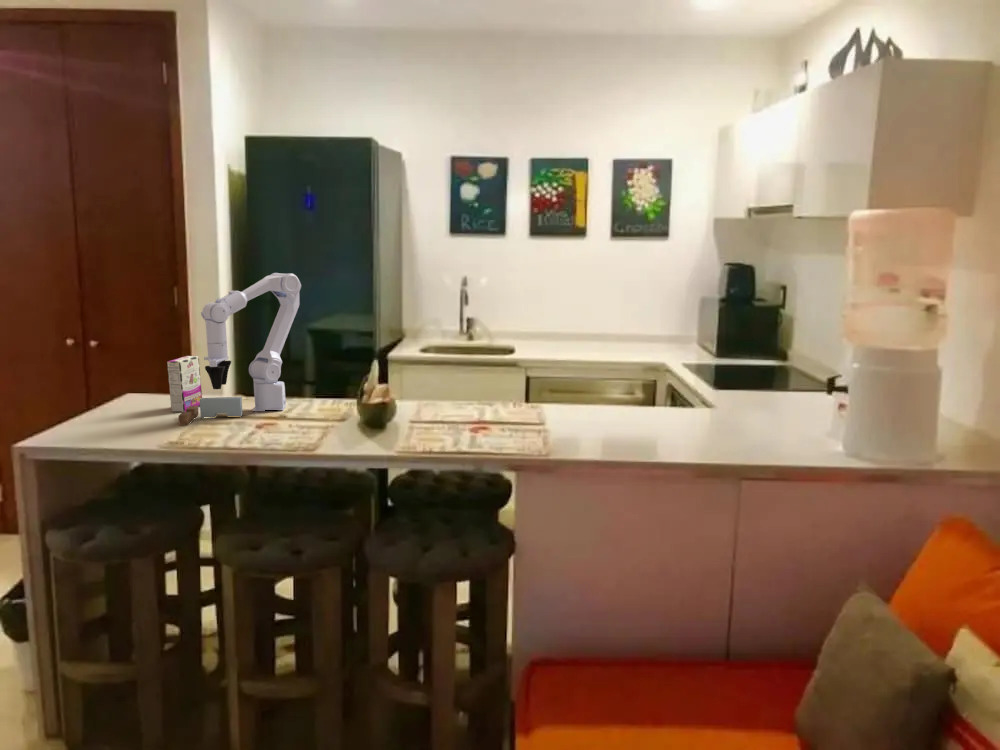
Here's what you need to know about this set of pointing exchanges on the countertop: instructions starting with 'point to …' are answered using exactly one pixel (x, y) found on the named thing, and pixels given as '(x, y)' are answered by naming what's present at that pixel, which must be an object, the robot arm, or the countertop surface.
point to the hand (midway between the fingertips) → (219, 386)
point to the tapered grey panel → (221, 406)
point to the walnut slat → (188, 415)
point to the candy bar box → (184, 383)
